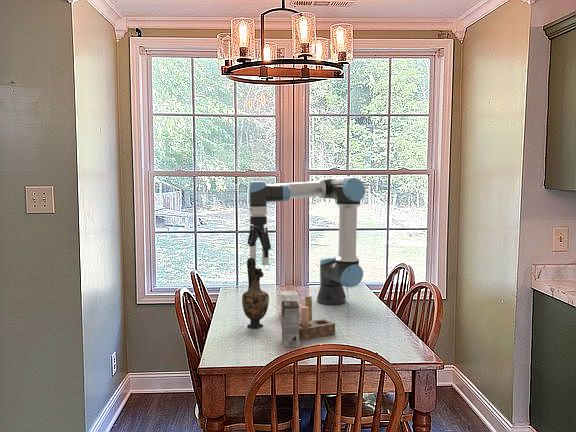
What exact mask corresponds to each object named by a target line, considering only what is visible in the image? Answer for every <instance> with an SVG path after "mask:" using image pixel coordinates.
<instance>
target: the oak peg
mask: <svg viewBox="0 0 576 432" xmlns="http://www.w3.org/2000/svg"><path fill="white" fill-rule="evenodd" d="M304 306H306V307H309V321H312V320H313V296H312V295H305V296H304Z"/></svg>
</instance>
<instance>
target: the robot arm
mask: <svg viewBox="0 0 576 432" xmlns="http://www.w3.org/2000/svg"><path fill="white" fill-rule="evenodd" d="M365 187H366V186H365V184H364V182H363V181H362V180H361V179H360V178H358V177H355V176H333V177H329V178H328V177H327V178H320V179H318V180H316V181H305V182H304V181H301V182H285V183H283V182H282V183H267V182H266V181H265V180H257V181H256V180H255V181H253V180H252V181H250V182H249V187H248V188H249V191H248V193H249V208H248V210H249V215H250V217H249V223H250V225H249V232H248V239H247V245H248V246H249V258H254V259H255V261H257V244H256V243H257V241H258V239H259V241H260V245H261V247H262V249H261V256H262V258H261V259H262V261H261V262H262V263H261V264H262V266H268V265H269V262H270V261H269V260H270V259H269V258H270V257H269V251H270V250H271V249H272V245H271V242H270V236H269V233H268V232H269V231H268V229H269V228H268V227H265V225H267V223H268V220H267V218H268V217H267V215H268V213H267V212H268V209H267V207H268V206H267V203H269V202H270V203H272V202H273V203H274V202H282V203H283V202H288V201H289V200H290V199H299V198H300V199H301V198H311V197H312V198H314V197H315V198H316V197H318V198H319V199H331V200H336V205H337V206H338V209H339V212H338V213H339V215H338V217H339V218H338V219H339V221H338V223H339V224H338V256H329V257H322V258H321V259H320V261H319V262H320V263H319V276H320V277H319V278H320V279H319V289H318V293H317V297H316V302H318V303H319V304H322V305H342V304H344V303H346V302H347V297H346V293H345V290H344V287H345V288H355V287H357V286H359V284H360V283H361V282H362V280H363V277H364V269H363V268H362V267H361V266H360V259H359V257H357V232H358V231H357V229H358V228H357V227H358V226H357V223H358V220H357V219H358V216H357V215H358V208H359V206H360V205H361V200H362V199H363V198H364V197H365V195H366V194H365V193H366V188H365Z"/></svg>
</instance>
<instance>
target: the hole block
mask: <svg viewBox="0 0 576 432" xmlns="http://www.w3.org/2000/svg"><path fill="white" fill-rule="evenodd" d="M333 334H334V335H336V323H335V322H332V321H331V320H328V319H326V318H319V319H312V321H309V327H301V321H299V340H300V341H305V340H311V339H316V338H323V337H327V336H328V335H329V336H333Z"/></svg>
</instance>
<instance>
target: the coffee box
mask: <svg viewBox="0 0 576 432" xmlns="http://www.w3.org/2000/svg"><path fill="white" fill-rule="evenodd" d="M281 303H282V315H281V339H282V340H281V341H282V345H283V348H293V347H294V348H297V347H298V348H299V347H300V339H299V323H300V306H299V302H298V303H297V301H282V302H281V301H280V304H281Z"/></svg>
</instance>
